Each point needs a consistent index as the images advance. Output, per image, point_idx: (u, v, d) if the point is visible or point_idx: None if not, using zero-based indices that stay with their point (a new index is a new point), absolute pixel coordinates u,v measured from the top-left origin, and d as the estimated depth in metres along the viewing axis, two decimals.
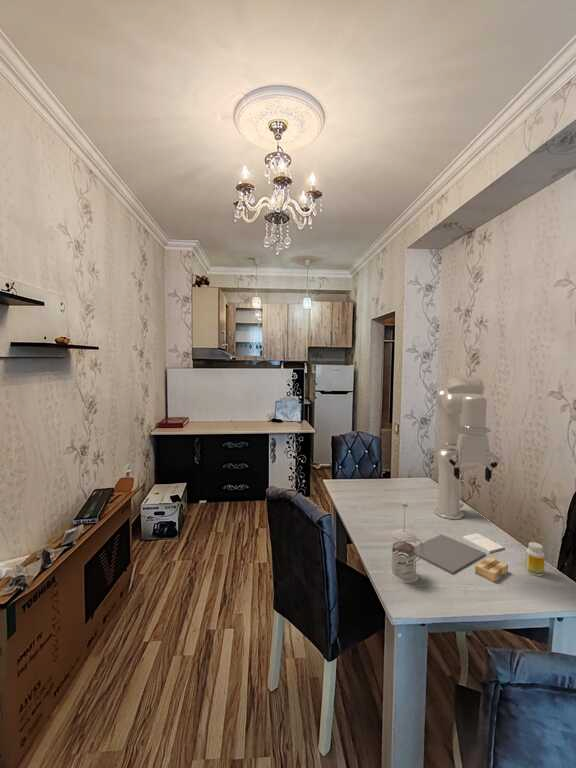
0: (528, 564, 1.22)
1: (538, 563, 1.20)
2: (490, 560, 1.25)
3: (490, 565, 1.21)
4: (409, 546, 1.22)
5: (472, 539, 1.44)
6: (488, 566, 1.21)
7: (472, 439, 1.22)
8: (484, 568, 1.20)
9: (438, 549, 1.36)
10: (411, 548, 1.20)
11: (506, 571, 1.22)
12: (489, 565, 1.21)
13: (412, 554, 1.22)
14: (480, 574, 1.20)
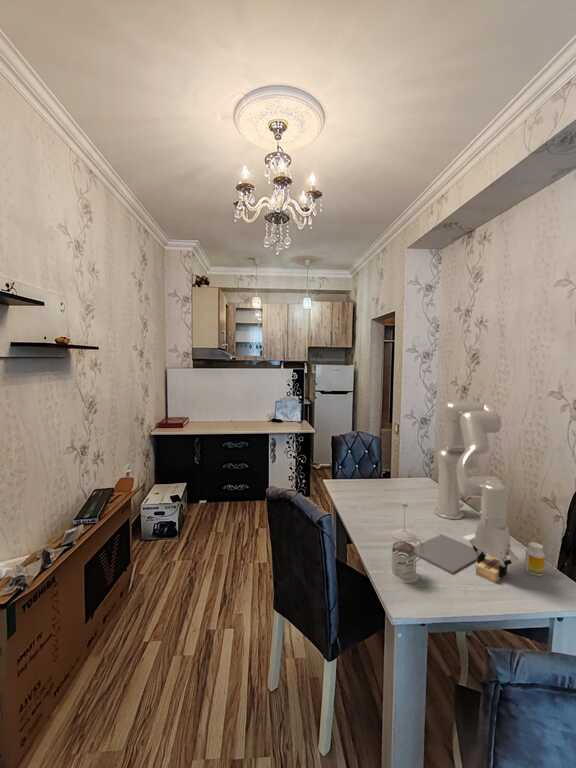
0: (528, 564, 1.22)
1: (538, 563, 1.20)
2: (490, 559, 1.25)
3: (490, 564, 1.21)
4: (409, 546, 1.22)
5: None
6: (489, 565, 1.21)
7: None
8: (485, 567, 1.20)
9: (438, 549, 1.36)
10: (411, 548, 1.20)
11: None
12: (489, 564, 1.21)
13: (412, 554, 1.22)
14: (481, 574, 1.20)
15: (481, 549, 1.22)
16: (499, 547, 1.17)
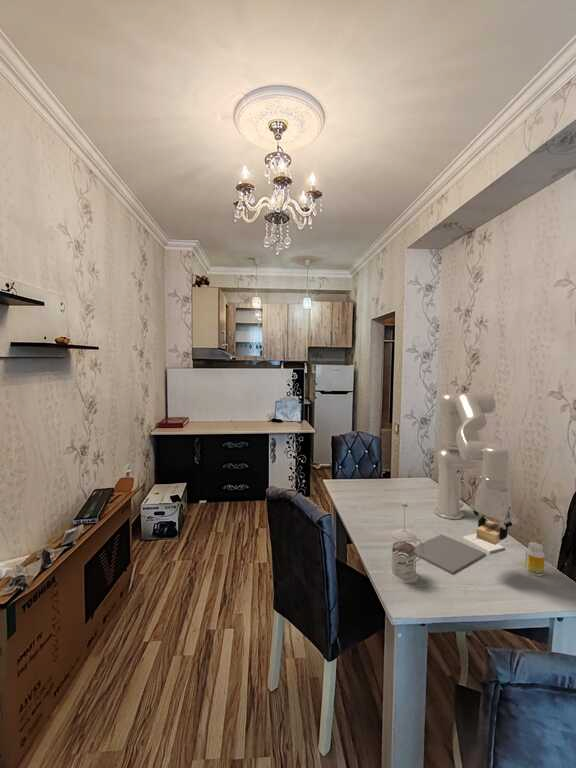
0: (528, 564, 1.22)
1: (538, 563, 1.20)
2: (490, 523, 1.24)
3: (491, 528, 1.21)
4: (409, 546, 1.22)
5: (472, 539, 1.44)
6: (489, 528, 1.20)
7: None
8: (485, 530, 1.20)
9: (438, 549, 1.36)
10: (411, 548, 1.20)
11: None
12: (490, 528, 1.21)
13: (412, 554, 1.22)
14: (482, 537, 1.20)
15: (482, 512, 1.22)
16: (500, 509, 1.17)
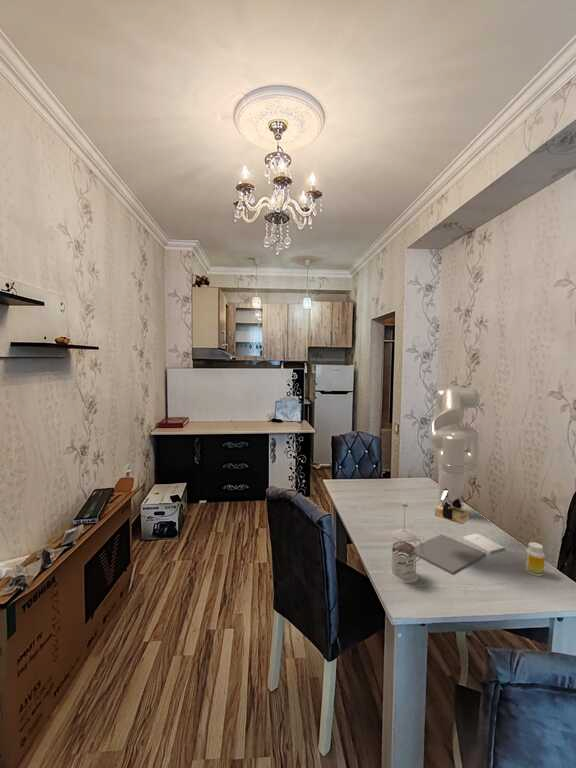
0: (528, 564, 1.22)
1: (538, 563, 1.20)
2: (460, 509, 1.32)
3: None
4: (409, 546, 1.22)
5: (472, 539, 1.43)
6: None
7: (458, 477, 1.29)
8: (441, 505, 1.36)
9: (438, 549, 1.36)
10: (411, 548, 1.20)
11: (460, 520, 1.28)
12: None
13: (412, 554, 1.22)
14: None
15: None
16: None
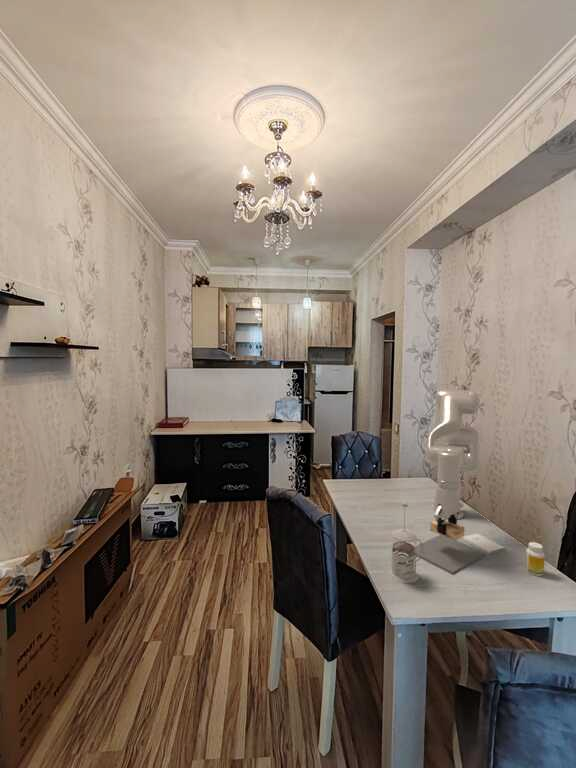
0: (528, 564, 1.22)
1: (538, 563, 1.20)
2: (456, 525, 1.33)
3: None
4: (409, 546, 1.22)
5: (472, 539, 1.43)
6: None
7: (453, 493, 1.31)
8: None
9: (438, 549, 1.36)
10: (411, 548, 1.20)
11: (453, 536, 1.29)
12: None
13: (412, 554, 1.22)
14: None
15: None
16: None
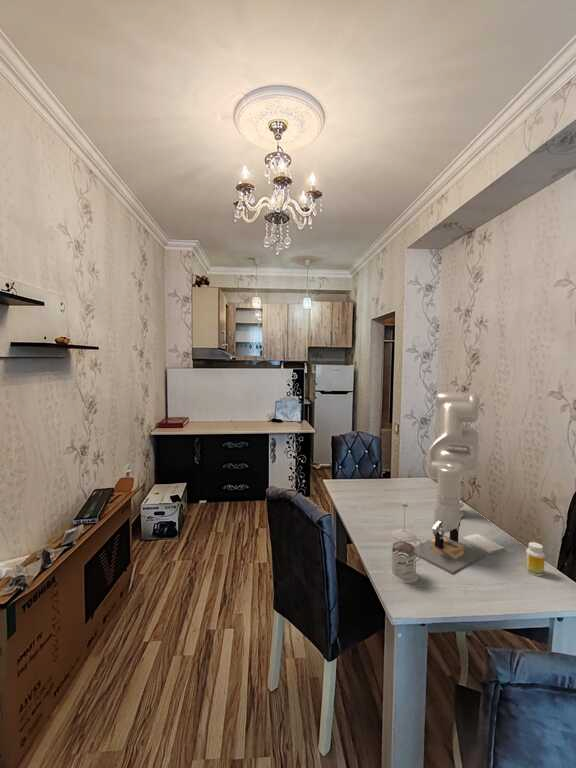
0: (528, 564, 1.22)
1: (538, 563, 1.20)
2: (455, 544, 1.33)
3: (444, 541, 1.35)
4: (409, 546, 1.22)
5: (472, 539, 1.43)
6: None
7: (452, 509, 1.31)
8: None
9: None
10: (411, 548, 1.20)
11: (452, 556, 1.30)
12: None
13: (412, 554, 1.22)
14: None
15: None
16: None
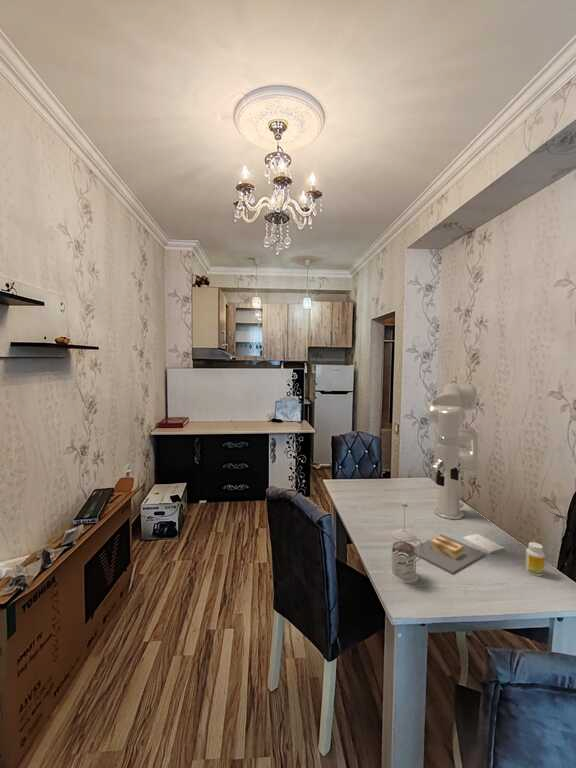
0: (528, 564, 1.22)
1: (538, 563, 1.20)
2: (455, 544, 1.33)
3: (444, 541, 1.35)
4: (409, 546, 1.22)
5: (472, 540, 1.43)
6: (441, 540, 1.36)
7: (453, 448, 1.38)
8: (437, 538, 1.38)
9: None
10: (411, 548, 1.20)
11: (452, 556, 1.30)
12: (443, 541, 1.36)
13: (412, 554, 1.22)
14: None
15: None
16: None
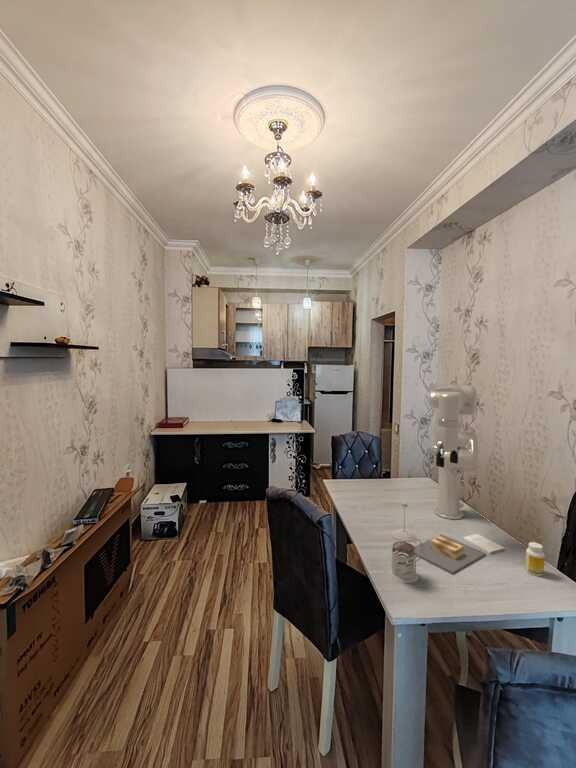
0: (528, 564, 1.22)
1: (538, 563, 1.20)
2: (455, 544, 1.33)
3: (444, 541, 1.35)
4: (409, 546, 1.22)
5: (473, 540, 1.43)
6: (441, 540, 1.36)
7: (452, 430, 1.43)
8: (437, 538, 1.38)
9: None
10: (411, 548, 1.20)
11: (452, 556, 1.30)
12: (443, 541, 1.36)
13: (412, 554, 1.22)
14: None
15: None
16: None
